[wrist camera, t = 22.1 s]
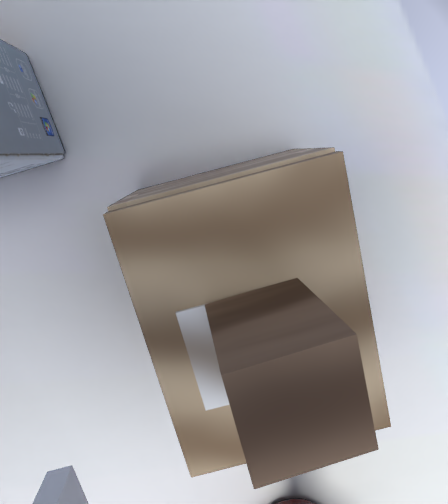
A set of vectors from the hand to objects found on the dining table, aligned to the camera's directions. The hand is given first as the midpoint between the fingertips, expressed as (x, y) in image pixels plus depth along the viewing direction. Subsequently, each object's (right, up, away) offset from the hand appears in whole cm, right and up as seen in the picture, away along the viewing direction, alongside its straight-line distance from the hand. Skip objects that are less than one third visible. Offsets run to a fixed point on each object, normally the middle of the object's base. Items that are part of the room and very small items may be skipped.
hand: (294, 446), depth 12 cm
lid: (0, +2, +10) cm, 11 cm away
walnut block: (0, +1, +9) cm, 10 cm away
